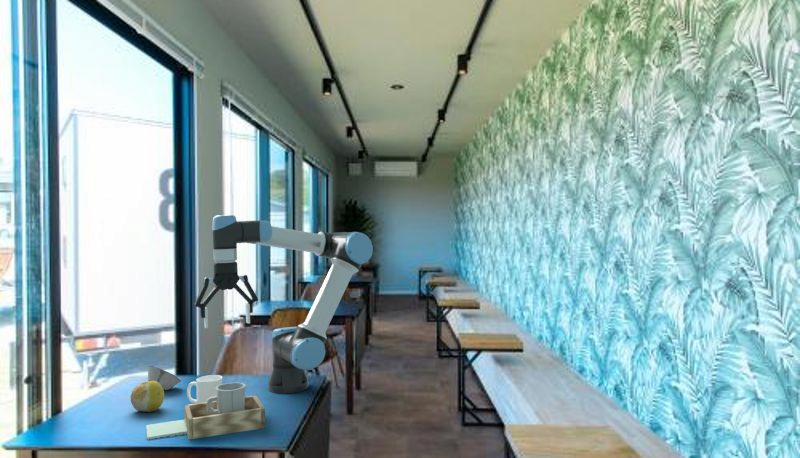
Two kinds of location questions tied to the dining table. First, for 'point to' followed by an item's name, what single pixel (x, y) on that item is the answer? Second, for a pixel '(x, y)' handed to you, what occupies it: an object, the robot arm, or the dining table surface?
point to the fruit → (147, 396)
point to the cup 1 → (204, 388)
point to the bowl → (162, 377)
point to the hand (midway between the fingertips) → (227, 325)
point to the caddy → (223, 419)
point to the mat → (166, 429)
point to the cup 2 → (228, 398)
